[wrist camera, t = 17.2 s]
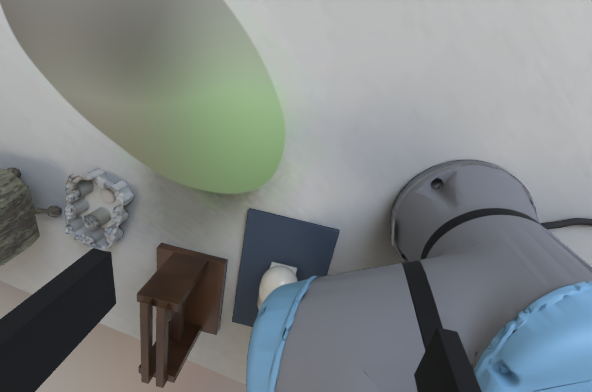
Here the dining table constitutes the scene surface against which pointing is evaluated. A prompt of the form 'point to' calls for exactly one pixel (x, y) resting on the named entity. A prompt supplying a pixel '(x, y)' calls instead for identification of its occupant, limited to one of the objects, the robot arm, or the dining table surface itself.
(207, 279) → the rack
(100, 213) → the egg carton
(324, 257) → the mat
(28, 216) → the tabletop clock
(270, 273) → the white dome-topped canister
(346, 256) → the dining table surface
